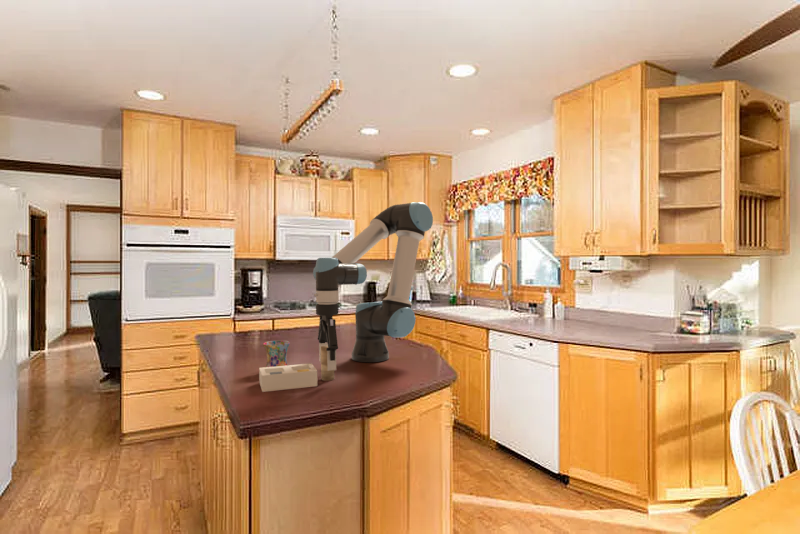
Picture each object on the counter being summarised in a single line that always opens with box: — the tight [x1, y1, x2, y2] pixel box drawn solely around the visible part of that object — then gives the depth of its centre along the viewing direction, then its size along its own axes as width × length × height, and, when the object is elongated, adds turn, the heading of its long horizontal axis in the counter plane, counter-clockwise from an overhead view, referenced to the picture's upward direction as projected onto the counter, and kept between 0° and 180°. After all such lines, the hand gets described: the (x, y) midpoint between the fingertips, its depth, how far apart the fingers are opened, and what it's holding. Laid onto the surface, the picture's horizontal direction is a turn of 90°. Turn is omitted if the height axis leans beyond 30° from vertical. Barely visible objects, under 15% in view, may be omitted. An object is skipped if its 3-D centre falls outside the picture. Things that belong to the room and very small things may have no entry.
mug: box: [262, 340, 290, 367], centre depth 167 cm, size 12×9×11 cm
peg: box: [320, 344, 335, 382], centre depth 155 cm, size 4×4×11 cm
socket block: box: [258, 363, 318, 393], centre depth 149 cm, size 17×11×5 cm, turn 111°
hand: (327, 365), depth 155 cm, fingers open, 13 cm apart
